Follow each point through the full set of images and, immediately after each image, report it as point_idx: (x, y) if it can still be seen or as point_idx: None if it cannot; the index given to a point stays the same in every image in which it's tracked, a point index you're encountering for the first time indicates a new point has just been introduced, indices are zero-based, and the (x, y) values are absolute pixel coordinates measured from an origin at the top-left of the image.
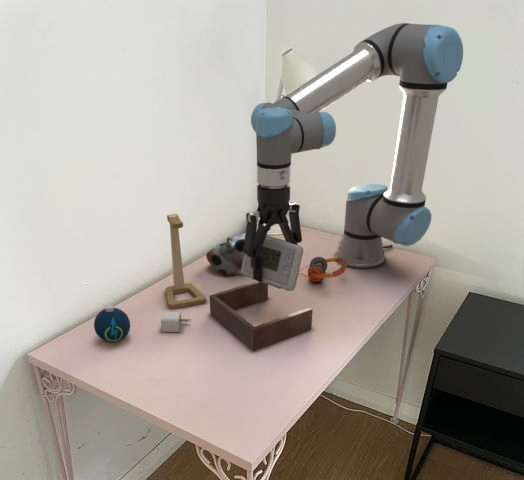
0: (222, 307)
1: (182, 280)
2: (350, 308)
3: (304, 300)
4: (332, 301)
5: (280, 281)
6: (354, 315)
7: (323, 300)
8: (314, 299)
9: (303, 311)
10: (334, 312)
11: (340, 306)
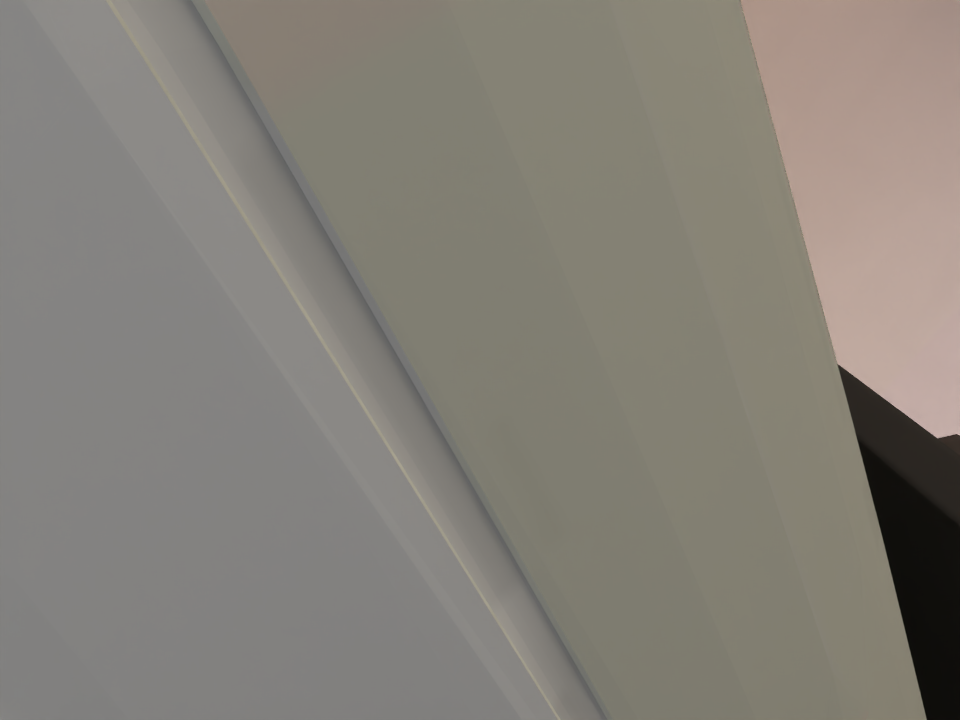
0: None
1: None
2: (954, 301)
3: (783, 13)
4: (944, 148)
5: None
6: (900, 393)
7: (905, 97)
8: (862, 41)
9: None
10: (830, 308)
11: (927, 246)
